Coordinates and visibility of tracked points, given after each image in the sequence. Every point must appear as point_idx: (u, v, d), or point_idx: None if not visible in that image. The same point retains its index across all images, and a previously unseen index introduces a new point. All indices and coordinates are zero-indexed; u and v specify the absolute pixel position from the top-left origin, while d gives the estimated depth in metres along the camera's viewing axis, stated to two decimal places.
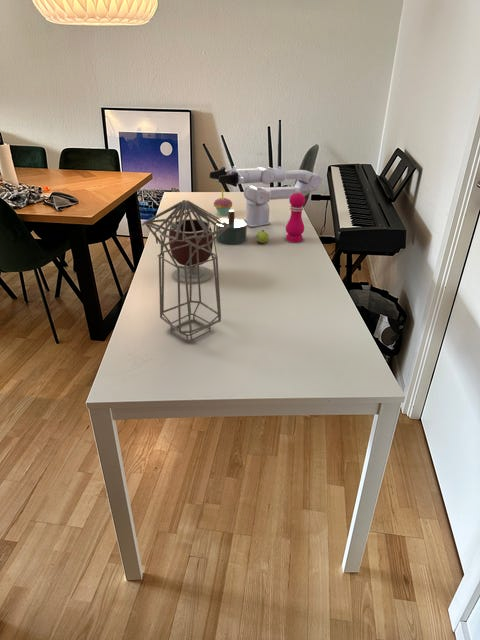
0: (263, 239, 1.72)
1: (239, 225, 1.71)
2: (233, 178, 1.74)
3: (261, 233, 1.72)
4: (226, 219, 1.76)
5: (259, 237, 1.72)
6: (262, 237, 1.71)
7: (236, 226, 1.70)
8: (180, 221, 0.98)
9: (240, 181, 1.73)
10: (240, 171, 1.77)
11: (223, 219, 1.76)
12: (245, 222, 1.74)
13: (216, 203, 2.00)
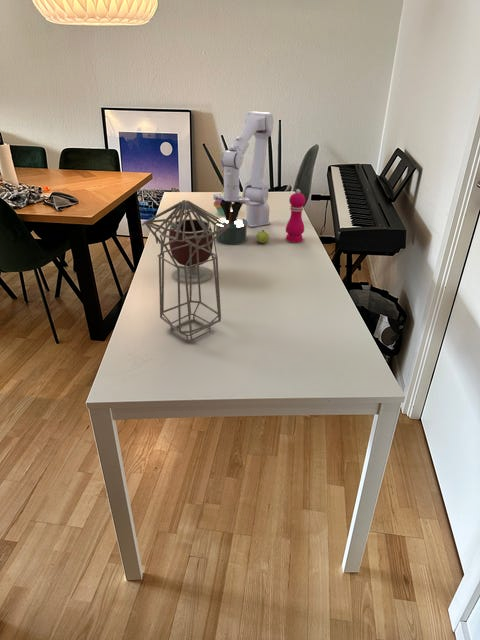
0: (263, 239, 1.72)
1: (239, 225, 1.71)
2: None
3: (261, 233, 1.72)
4: None
5: (259, 237, 1.72)
6: (262, 237, 1.71)
7: (236, 226, 1.70)
8: (180, 221, 0.97)
9: (248, 203, 1.67)
10: (232, 195, 1.66)
11: (223, 219, 1.76)
12: (245, 222, 1.74)
13: (216, 203, 2.00)
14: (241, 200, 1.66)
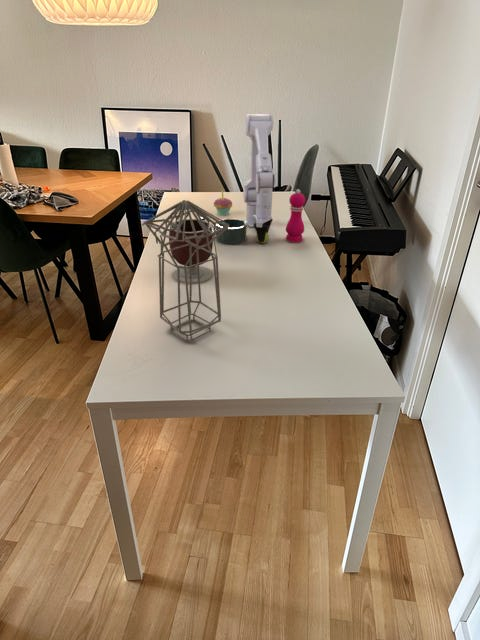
0: None
1: None
2: (260, 226, 1.68)
3: None
4: None
5: None
6: None
7: None
8: (180, 221, 0.97)
9: (259, 226, 1.64)
10: (256, 213, 1.68)
11: None
12: (215, 228, 1.85)
13: (216, 203, 2.00)
14: (256, 221, 1.66)
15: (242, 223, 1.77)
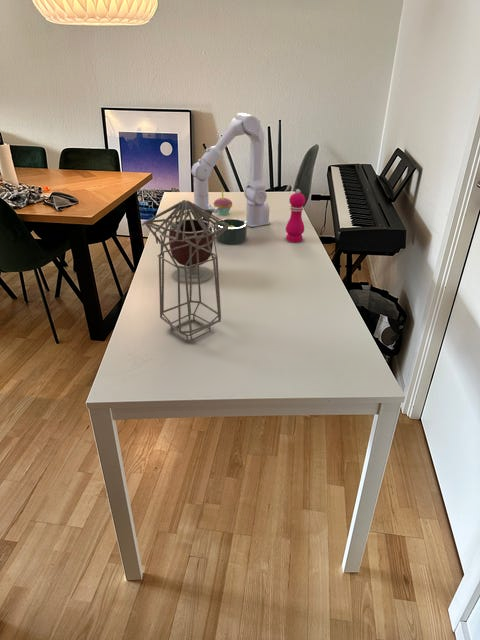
0: None
1: None
2: None
3: (230, 226, 1.76)
4: None
5: None
6: None
7: None
8: (180, 221, 0.97)
9: (217, 211, 1.78)
10: (202, 204, 1.77)
11: None
12: (215, 228, 1.85)
13: (216, 203, 2.00)
14: (210, 209, 1.77)
15: (242, 223, 1.77)
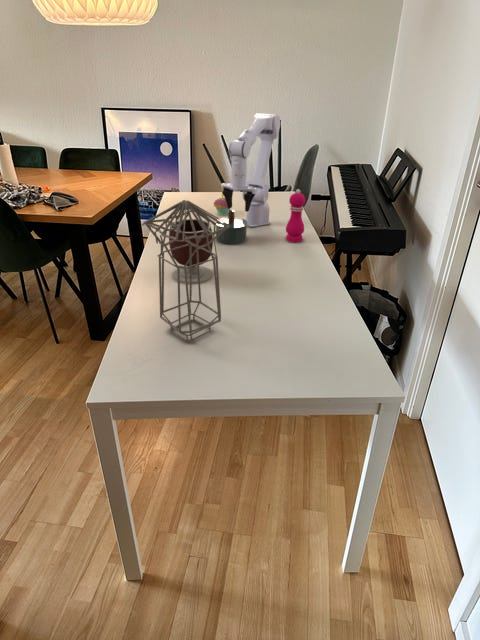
0: None
1: (239, 225, 1.71)
2: None
3: None
4: (226, 219, 1.76)
5: None
6: None
7: (236, 226, 1.70)
8: (180, 221, 0.97)
9: (255, 192, 1.70)
10: (240, 184, 1.69)
11: (223, 219, 1.76)
12: (245, 222, 1.74)
13: (216, 203, 2.00)
14: (248, 189, 1.69)
15: None
